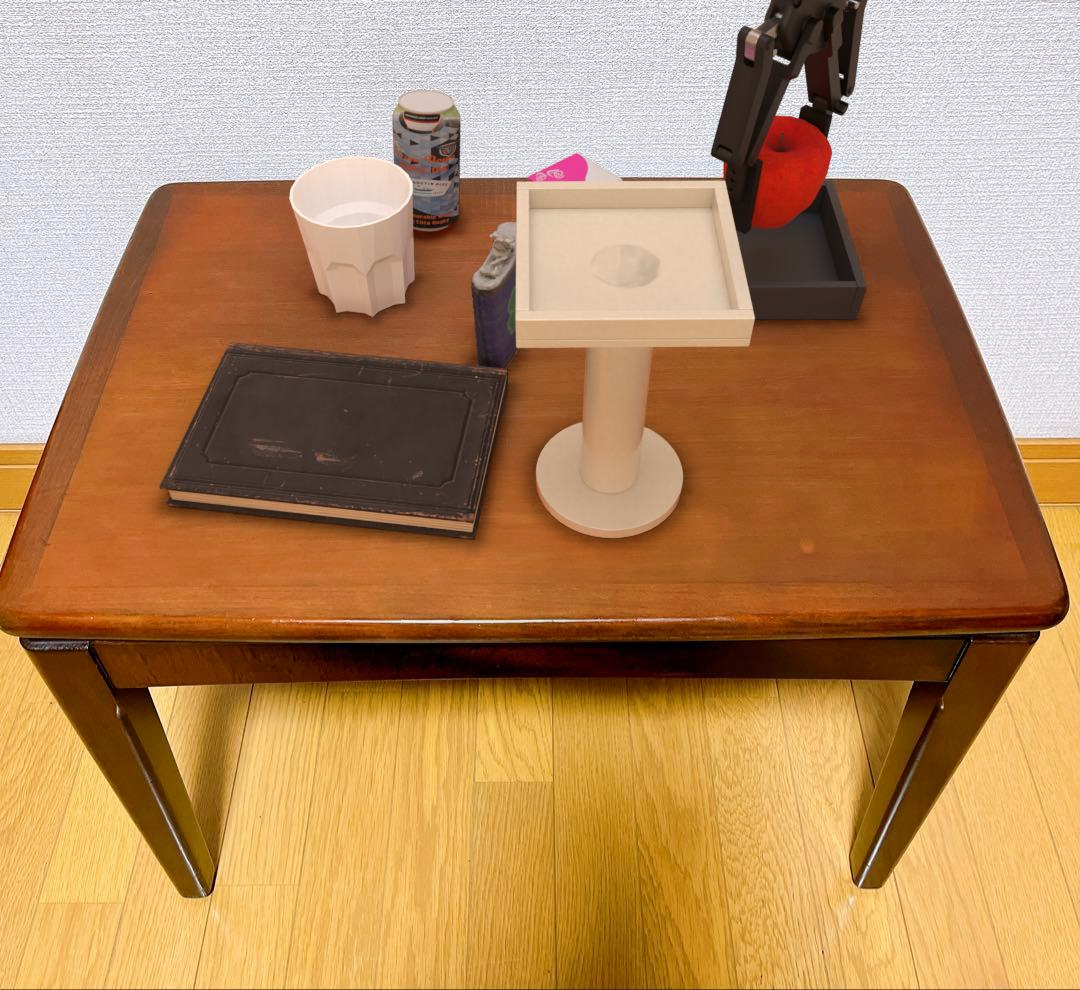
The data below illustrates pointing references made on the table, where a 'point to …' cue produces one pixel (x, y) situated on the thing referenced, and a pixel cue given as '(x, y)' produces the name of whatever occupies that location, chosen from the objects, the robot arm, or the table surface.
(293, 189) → the cup
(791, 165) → the apple
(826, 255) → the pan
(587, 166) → the supplement box
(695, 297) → the pedestal tray stand
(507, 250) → the flask
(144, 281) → the table surface
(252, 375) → the hardcover book
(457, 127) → the beverage can
